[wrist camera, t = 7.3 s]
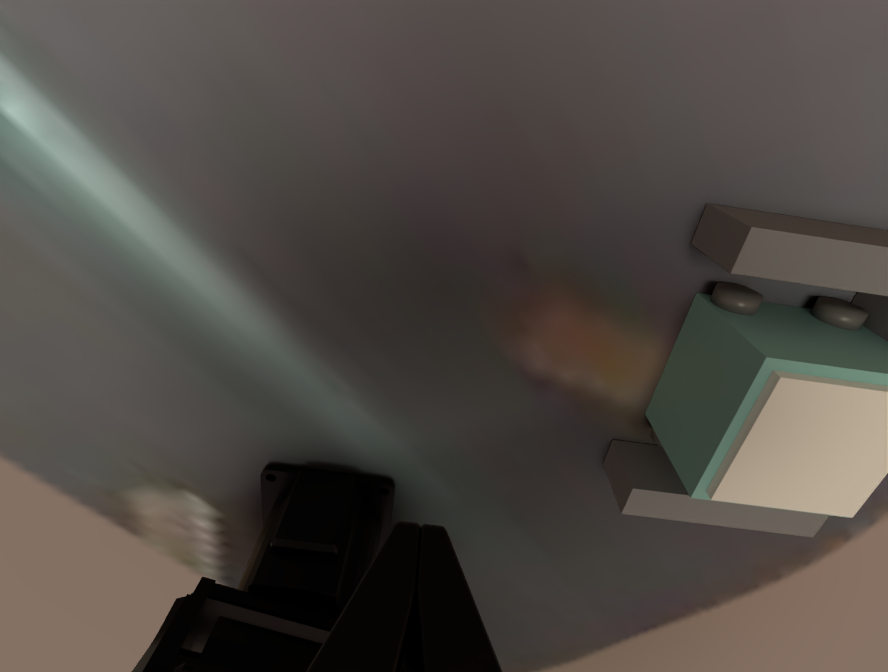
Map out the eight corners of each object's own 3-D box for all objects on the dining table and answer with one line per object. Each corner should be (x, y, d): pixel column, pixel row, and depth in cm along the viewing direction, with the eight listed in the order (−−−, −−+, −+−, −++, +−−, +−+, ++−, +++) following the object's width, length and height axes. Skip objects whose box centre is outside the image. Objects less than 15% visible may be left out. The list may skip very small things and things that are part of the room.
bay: (773, 485, 24) (813, 537, 21) (603, 463, 23) (621, 513, 21) (933, 237, 18) (1017, 266, 15) (707, 203, 17) (752, 227, 15)
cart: (765, 439, 22) (848, 537, 18) (639, 422, 22) (688, 518, 17) (849, 298, 19) (980, 374, 14) (701, 277, 19) (784, 347, 14)
